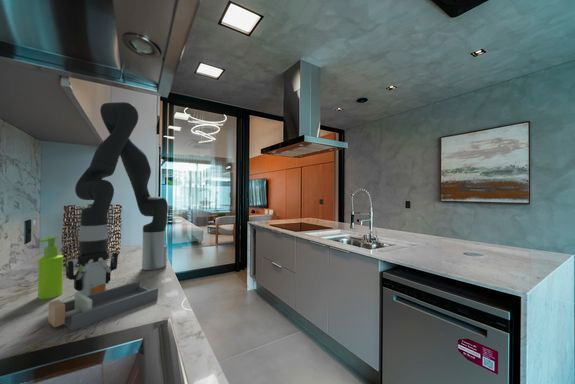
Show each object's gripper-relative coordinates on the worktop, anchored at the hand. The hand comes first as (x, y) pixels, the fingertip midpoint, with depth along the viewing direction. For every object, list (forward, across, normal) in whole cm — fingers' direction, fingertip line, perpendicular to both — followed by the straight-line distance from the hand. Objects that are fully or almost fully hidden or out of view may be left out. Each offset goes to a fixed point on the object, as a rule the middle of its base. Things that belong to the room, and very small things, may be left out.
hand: (92, 286), depth 80 cm
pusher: (+2, +10, +14) cm, 17 cm away
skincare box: (+3, 0, 0) cm, 3 cm away
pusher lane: (+3, 0, +14) cm, 14 cm away
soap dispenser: (+3, +8, -12) cm, 15 cm away
